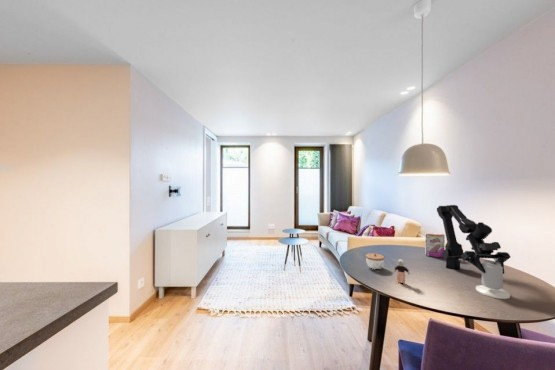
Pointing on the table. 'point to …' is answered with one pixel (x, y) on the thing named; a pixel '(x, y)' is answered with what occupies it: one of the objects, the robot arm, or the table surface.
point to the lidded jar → (375, 261)
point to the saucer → (493, 292)
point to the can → (492, 275)
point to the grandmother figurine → (401, 271)
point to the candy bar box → (434, 244)
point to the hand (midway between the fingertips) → (494, 273)
